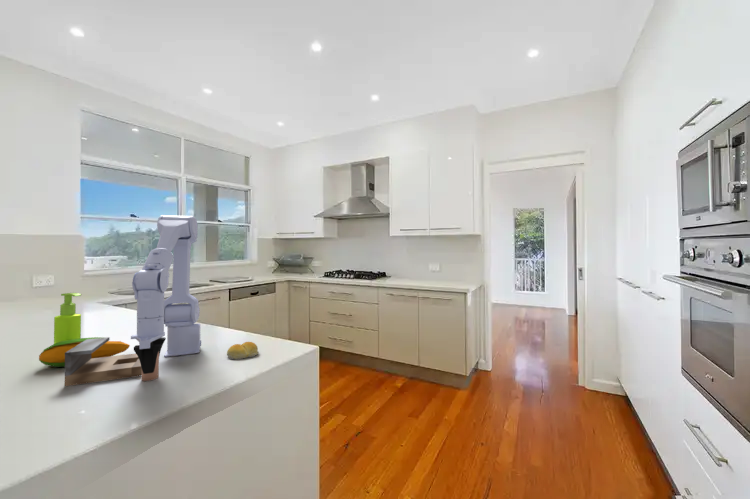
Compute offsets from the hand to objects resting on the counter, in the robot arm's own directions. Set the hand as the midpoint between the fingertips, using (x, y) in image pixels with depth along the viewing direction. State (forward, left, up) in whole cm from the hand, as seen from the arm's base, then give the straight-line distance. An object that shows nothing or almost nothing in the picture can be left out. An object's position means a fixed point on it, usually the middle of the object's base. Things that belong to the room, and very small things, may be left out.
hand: (150, 370), depth 81 cm
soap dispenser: (+25, -30, -2) cm, 39 cm away
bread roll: (-23, -10, -2) cm, 25 cm away
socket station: (+9, -10, -2) cm, 14 cm away
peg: (0, 0, -2) cm, 2 cm away
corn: (+19, -23, -2) cm, 30 cm away
